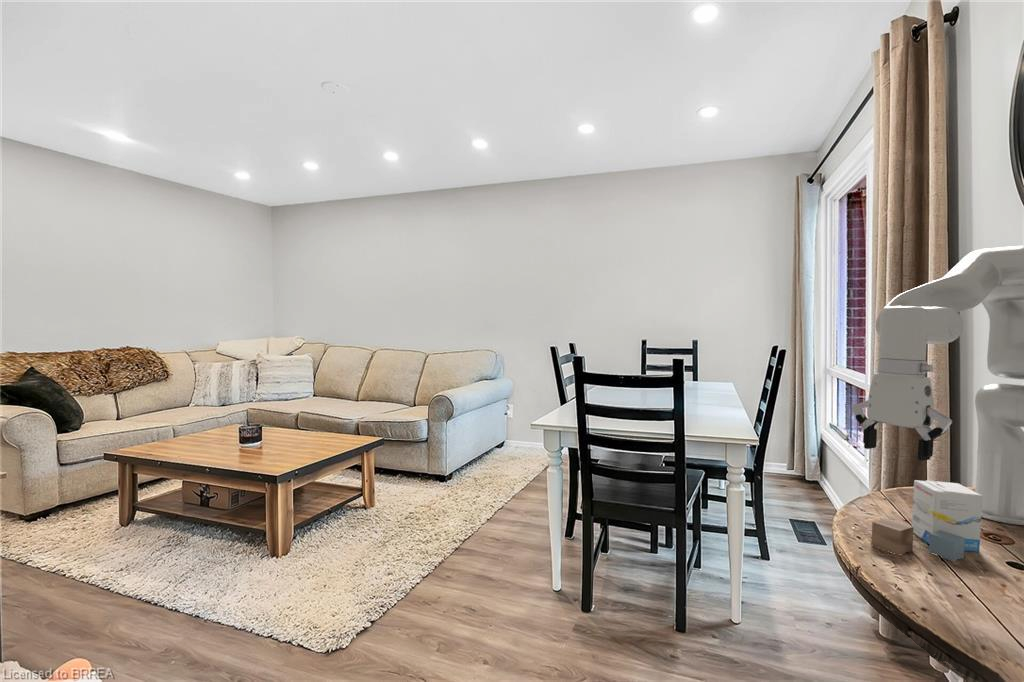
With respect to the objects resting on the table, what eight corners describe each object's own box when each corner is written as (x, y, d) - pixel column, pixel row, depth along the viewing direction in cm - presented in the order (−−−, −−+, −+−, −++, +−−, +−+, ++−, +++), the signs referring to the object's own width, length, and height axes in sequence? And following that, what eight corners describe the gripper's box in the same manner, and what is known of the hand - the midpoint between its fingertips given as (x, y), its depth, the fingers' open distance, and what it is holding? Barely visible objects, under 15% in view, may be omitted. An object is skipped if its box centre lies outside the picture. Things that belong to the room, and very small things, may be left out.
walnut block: (884, 541, 108) (886, 518, 108) (912, 551, 104) (913, 526, 104) (871, 546, 106) (872, 521, 106) (898, 556, 102) (899, 531, 101)
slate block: (939, 549, 105) (940, 530, 105) (963, 558, 101) (964, 537, 101) (929, 553, 103) (930, 533, 103) (953, 562, 100) (954, 541, 99)
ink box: (981, 552, 104) (984, 495, 103) (932, 547, 106) (935, 490, 105) (955, 535, 112) (958, 482, 112) (910, 531, 114) (913, 478, 114)
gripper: (963, 372, 97) (957, 463, 98) (865, 364, 113) (861, 442, 113) (943, 373, 94) (937, 466, 95) (845, 364, 109) (840, 445, 110)
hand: (895, 453), depth 104 cm, fingers open, 9 cm apart
